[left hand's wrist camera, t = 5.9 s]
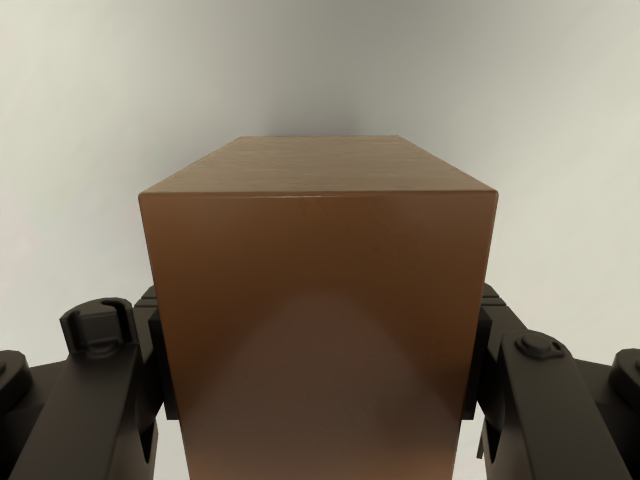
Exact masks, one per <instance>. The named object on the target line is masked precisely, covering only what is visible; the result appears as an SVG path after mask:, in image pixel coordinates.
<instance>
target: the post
mask: <svg viewBox="0 0 640 480" xmlns="http://www.w3.org/2000/svg"><path fill="white" fill-rule="evenodd" d="M498 196H499V194H498V191H497V190H495V189H493V188H491V187H490V186H488V185H486V184H484V183H482V182H480V181H479V180H477V179H475V178H473V177H471V176H470V175H468V174H466V173H464V172H462V171H461V170H459V169H457V168H455V167H453V166H452V165H450V164H448V163H446V162H444V161H443V160H441V159H439V158H437V157H435V156H434V155H432V154H430V153H428V152H426V151H425V150H423V149H421V148H419V147H417V146H416V145H414V144H412V143H410V142H408V141H407V140H405V139H403V138H401V137H399V136H281V137H240V138H238V139H236V140H234V141H232V142H231V143H229V144H227V145H225V146H223V147H222V148H220V149H218V150H216V151H215V152H213V153H211V154H209V155H207V156H206V157H204V158H202V159H200V160H198V161H197V162H195V163H193V164H191V165H190V166H188V167H186V168H184V169H182V170H181V171H179V172H177V173H175V174H173V175H172V176H170V177H168V178H166V179H165V180H163V181H161V182H159V183H157V184H156V185H154V186H152V187H150V188H148V189H147V190H145V191H143V192H141V193H140V194H139V196H138V200H139V206H140V211H141V216H142V222H143V227H144V233H145V238H146V243H147V249H148V254H149V260H150V265H151V271H152V276H153V281H154V287H155V292H156V298H157V303H158V309H159V314H160V319H161V325H162V330H163V336H164V341H165V347H166V352H167V357H168V363H169V368H170V374H171V379H172V385H173V390H174V395H175V401H176V406H177V412H178V417H179V423H180V428H181V433H182V439H183V444H184V450H185V455H186V460H187V466H188V471H189V477H190V480H452V475H453V469H454V463H455V457H456V451H457V445H458V439H459V433H460V427H461V421H462V415H463V409H464V403H465V397H466V391H467V385H468V378H469V372H470V366H471V360H472V354H473V348H474V342H475V336H476V330H477V324H478V318H479V312H480V306H481V300H482V294H483V287H484V281H485V275H486V269H487V263H488V257H489V251H490V245H491V239H492V233H493V227H494V221H495V215H496V209H497V203H498Z"/></svg>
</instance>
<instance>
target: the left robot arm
mask: <svg viewBox="0 0 640 480" xmlns="http://www.w3.org/2000/svg"><path fill="white" fill-rule="evenodd" d="M59 320H60V323H61V327H62V330H63V333H64V337H65V340H66V344H67V347H68V350H69V355H68V357H67V359H66V360H65V361H61V362H56V363H51V364H46V365H41V366H35V367H30V368H29V366H28V363H27V360H26V358H25V355H23V354H22V353H21V352H19V351H12V350H5V351H0V480H153V475H154V467H155V458H156V449H157V441H158V428H157V423H156V415H157V413H158V411H159V409H160V407H161V405H162V403H163V402H164V407H165V412H166V417H167V420H179V417H178V412H177V406H176V401H175V395H174V390H173V385H172V379H171V374H170V368H169V363H168V357H167V352H166V347H165V341H164V336H163V330H162V325H161V319H160V314H159V309H158V303H157V298H156V292H155V287H154V285H153V286H151V287H150V288H149V289H148V290H147V291H146V292H145V294H144V295H143V296H142V297H141V299H139V301H138V302H137V303H136V304H135V305H134V308H132V304H131V303H130V302H129V301H127V300H126V299H122V298H116V297H114V298H101V299H96V300H92V301H88V302H86V303H83V304H80V305H78V306H76V307H74V308H72V309H71V310H69V311H67V312H66V313H65V314H64V315H63V316H62V317H61V318H60V319H59ZM477 401H478V403H479V405H480V407H481V409H482V411H483V413H484V415H485V418H484V423H483V428H482V432H481V437H480V442H479V447H478V452H477V458H479V459H482V456H483V451H484V457H485V465H486V474H487V480H640V349H634V348H632V349H623V350H621V351H619V352H618V353H617V354H616V356H615V359H614V362H613V364H612V366H608V365H603V364H598V363H593V362H588V361H583V360H578V359H575V358H573V357H572V355H571V353H570V351H569V350H568V349H567V348H566V347H565V345H563V344H562V343H561V342H559V341H558V340H556V339H555V338H553V337H550V336H548V335H546V334H544V333H541V332H537V331H533V330H528V329H527V328H526V326H525V325H524V324H523V323H522V322H521V321H520V320H519V318H518V317H517V316H516V315H515V314H514V313H513V311H512V310H511V309H510V308H509V307H508V306H506V303H505V302H504V301H503V300H502V299H501V298H499V295H498V294H497V293H496V292H495V290H494V289H493V288H492V287H491V286H490V285H488V284H486V283H485V282H484V287H483V294H482V300H481V306H480V312H479V318H478V324H477V330H476V336H475V342H474V348H473V354H472V360H471V366H470V372H469V378H468V385H467V391H466V397H465V403H464V409H463V415H462V420H473V418H474V413H475V408H476V403H477Z"/></svg>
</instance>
